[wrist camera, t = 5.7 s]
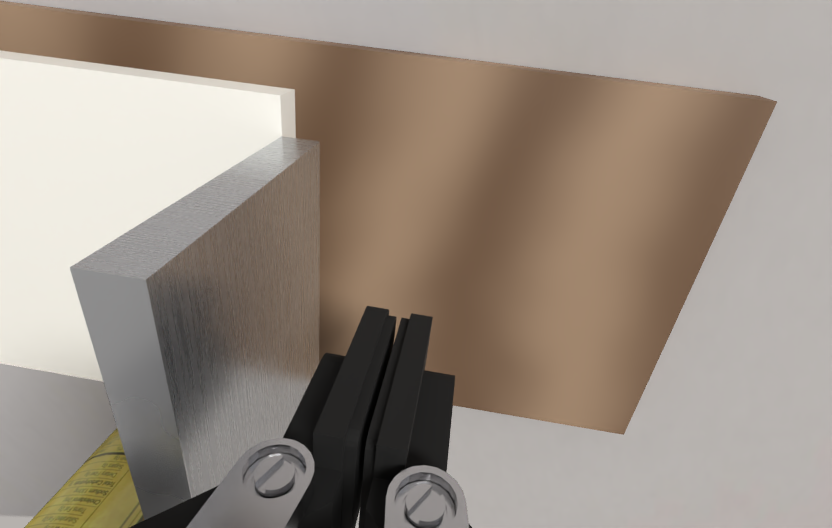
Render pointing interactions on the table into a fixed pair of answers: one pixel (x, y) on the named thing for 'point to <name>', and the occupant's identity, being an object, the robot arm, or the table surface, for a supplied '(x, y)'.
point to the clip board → (479, 199)
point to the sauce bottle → (95, 494)
